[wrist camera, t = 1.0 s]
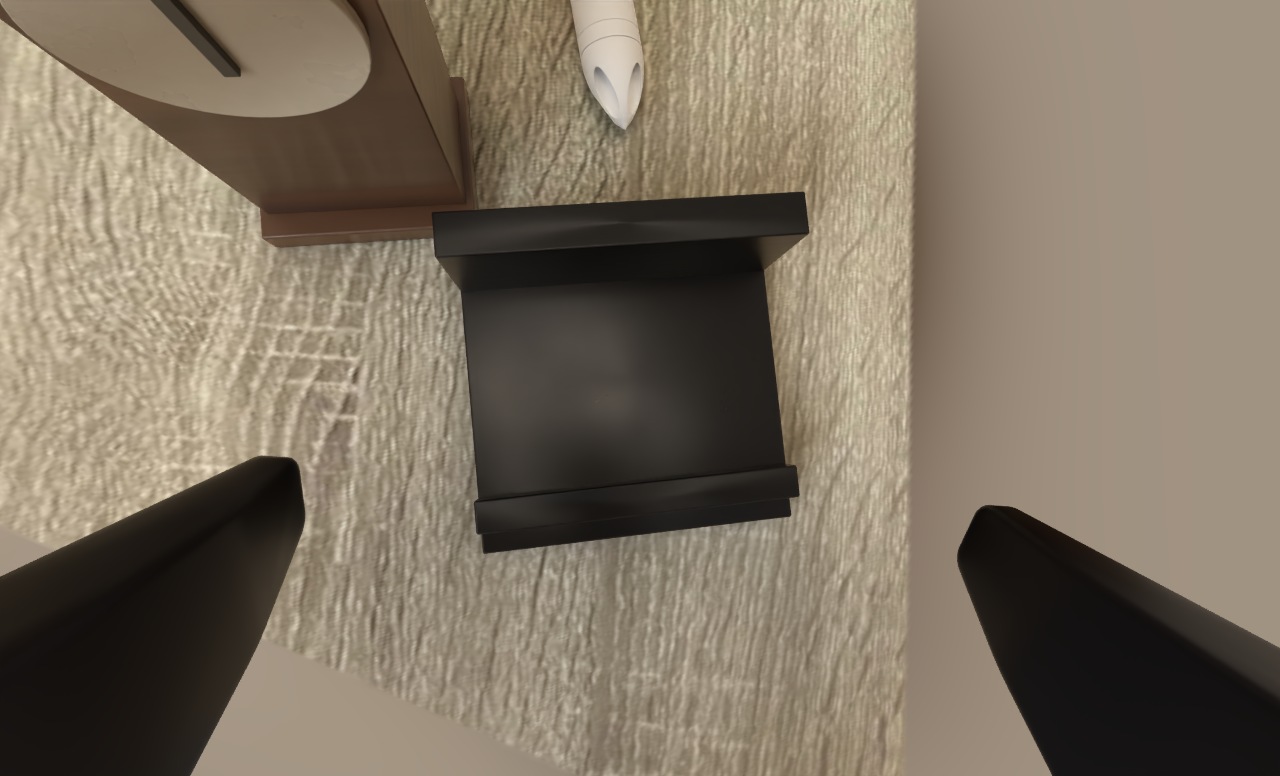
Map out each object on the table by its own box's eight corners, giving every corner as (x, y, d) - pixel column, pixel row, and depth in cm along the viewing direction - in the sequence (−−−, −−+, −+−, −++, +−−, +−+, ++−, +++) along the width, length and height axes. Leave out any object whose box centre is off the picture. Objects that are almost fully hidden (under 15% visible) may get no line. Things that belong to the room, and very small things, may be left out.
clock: (480, 235, 21) (317, -139, 7) (275, 248, 20) (-351, -146, 6) (468, 92, 21) (288, -534, 8) (265, 98, 21) (-357, -590, 7)
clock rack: (781, 512, 22) (845, 537, 17) (486, 548, 20) (462, 586, 15) (750, 229, 22) (802, 171, 17) (461, 247, 21) (428, 190, 16)
